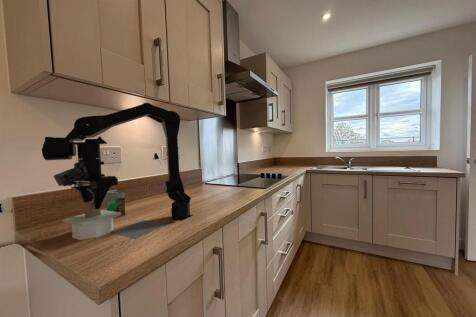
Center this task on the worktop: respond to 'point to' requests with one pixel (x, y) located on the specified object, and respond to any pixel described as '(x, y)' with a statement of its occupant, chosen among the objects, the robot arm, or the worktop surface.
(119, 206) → the food container
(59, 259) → the worktop surface
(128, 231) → the mat
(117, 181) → the robot arm
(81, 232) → the bowl
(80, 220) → the lid
